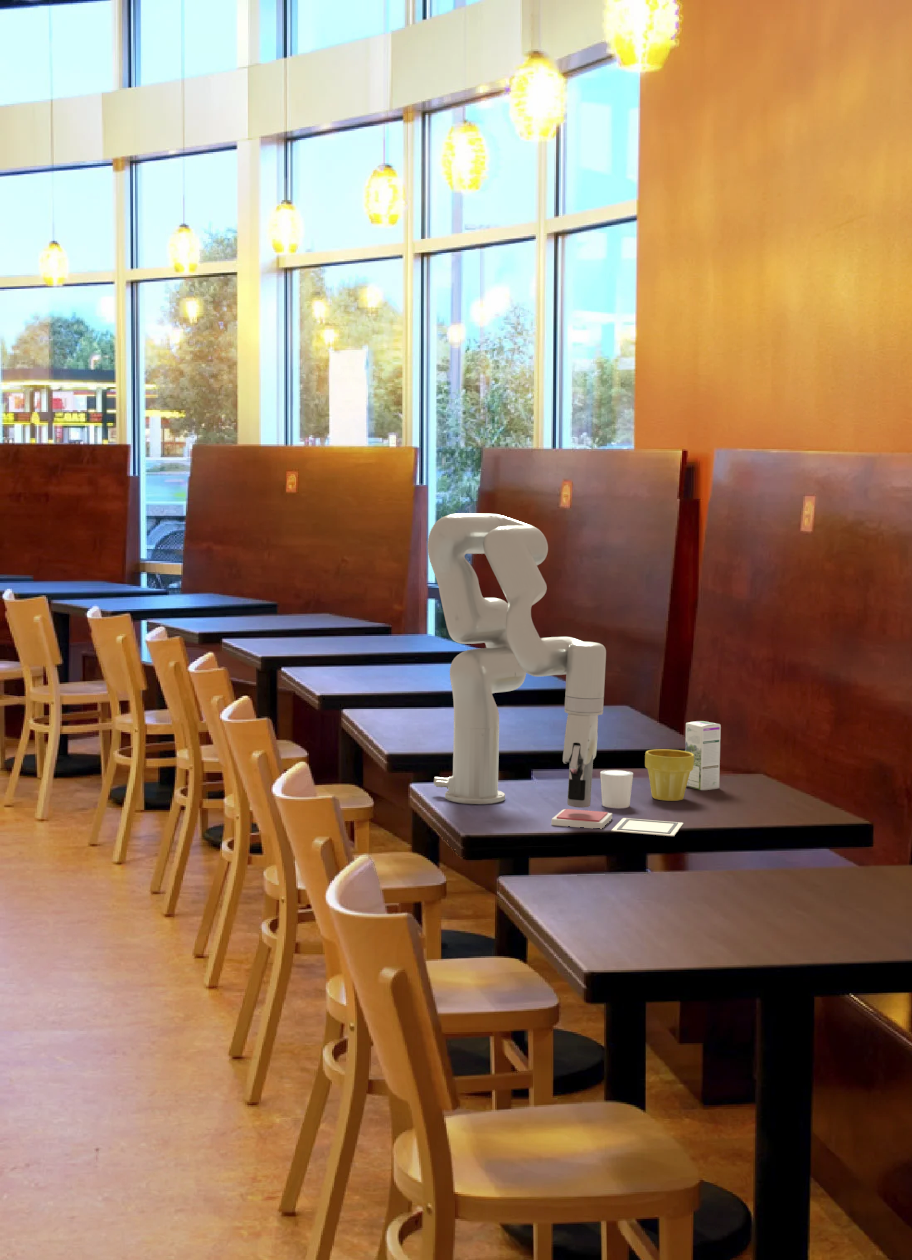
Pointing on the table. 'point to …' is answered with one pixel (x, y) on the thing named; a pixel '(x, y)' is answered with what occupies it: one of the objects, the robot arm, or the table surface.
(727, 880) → the table surface
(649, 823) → the print card
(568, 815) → the ink pad
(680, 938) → the table surface
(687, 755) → the plant pot
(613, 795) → the white cup
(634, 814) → the table surface
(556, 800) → the table surface
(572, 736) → the robot arm
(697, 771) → the syrup box
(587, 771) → the grey cylinder
